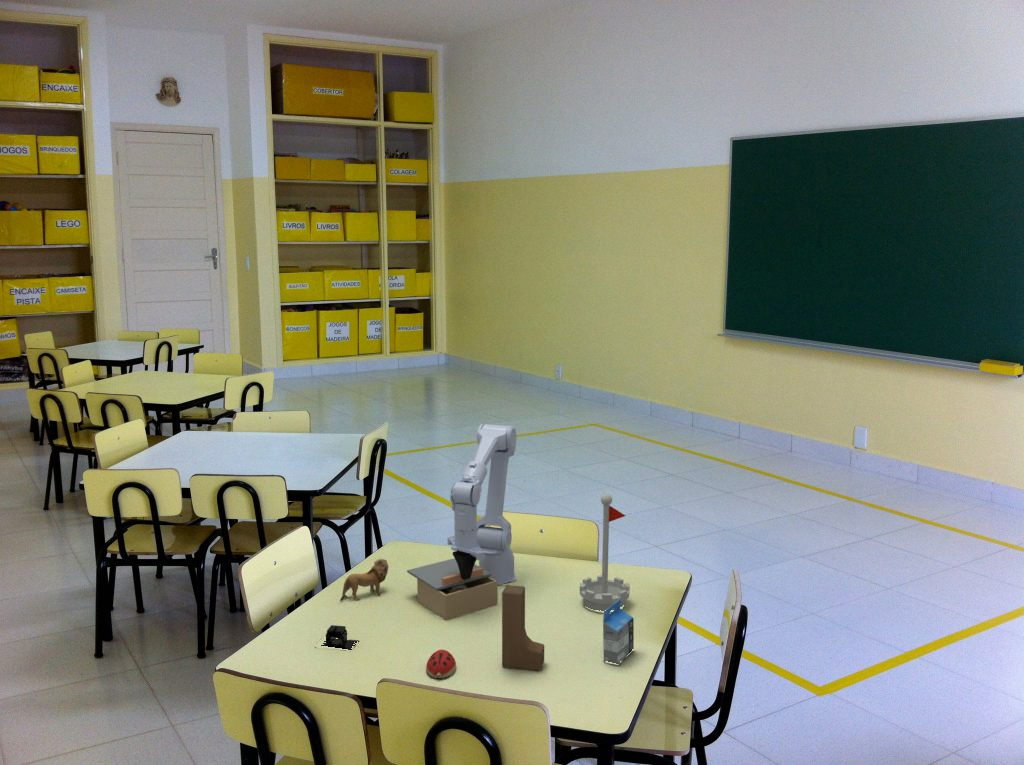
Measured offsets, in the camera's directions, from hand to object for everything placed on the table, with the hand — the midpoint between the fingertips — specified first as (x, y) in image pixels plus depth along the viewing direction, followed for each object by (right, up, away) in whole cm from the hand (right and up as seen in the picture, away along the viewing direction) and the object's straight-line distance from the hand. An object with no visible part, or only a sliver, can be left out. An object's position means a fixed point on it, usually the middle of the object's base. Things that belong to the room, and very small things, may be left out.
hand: (466, 578), depth 230 cm
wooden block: (+14, -14, -28) cm, 34 cm away
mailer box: (-2, -8, +5) cm, 9 cm away
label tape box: (+36, -13, -24) cm, 46 cm away
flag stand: (+36, -8, +4) cm, 37 cm away
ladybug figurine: (-4, -14, -30) cm, 34 cm away
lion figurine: (-27, -7, +10) cm, 30 cm away
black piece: (-30, -12, -18) cm, 37 cm away
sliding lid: (-5, 0, +7) cm, 8 cm away
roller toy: (-2, -8, +5) cm, 9 cm away
